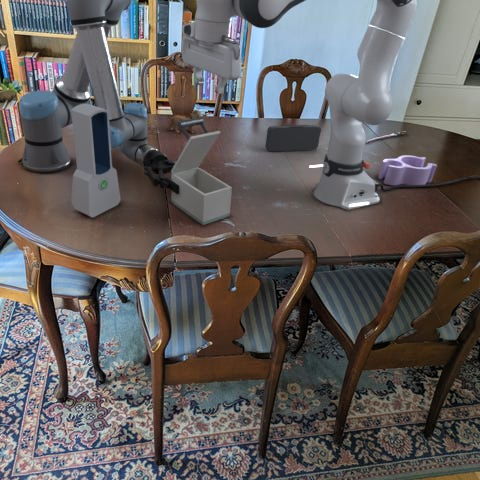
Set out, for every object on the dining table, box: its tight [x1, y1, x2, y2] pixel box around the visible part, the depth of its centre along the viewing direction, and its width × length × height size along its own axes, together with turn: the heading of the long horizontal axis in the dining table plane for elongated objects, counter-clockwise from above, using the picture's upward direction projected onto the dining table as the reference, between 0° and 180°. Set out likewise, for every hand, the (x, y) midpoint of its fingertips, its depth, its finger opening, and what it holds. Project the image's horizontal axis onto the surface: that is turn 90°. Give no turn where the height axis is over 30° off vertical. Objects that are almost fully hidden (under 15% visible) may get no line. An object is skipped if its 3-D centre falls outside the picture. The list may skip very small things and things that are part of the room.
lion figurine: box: [166, 109, 202, 134], centre depth 195 cm, size 15×5×9 cm, turn 110°
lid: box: [170, 116, 221, 174], centre depth 137 cm, size 17×10×8 cm
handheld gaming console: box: [264, 124, 322, 152], centre depth 189 cm, size 23×3×10 cm, turn 108°
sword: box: [365, 132, 406, 144], centre depth 214 cm, size 31×3×1 cm, turn 126°
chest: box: [170, 166, 233, 226], centre depth 141 cm, size 16×10×10 cm, turn 41°
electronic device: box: [70, 104, 122, 218], centre depth 130 cm, size 12×8×30 cm, turn 148°
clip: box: [377, 154, 438, 186], centre depth 174 cm, size 20×12×7 cm, turn 109°
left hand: (192, 185), depth 142 cm, fingers closed on chest, 10 cm apart
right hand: (209, 88), depth 123 cm, fingers open, 7 cm apart
